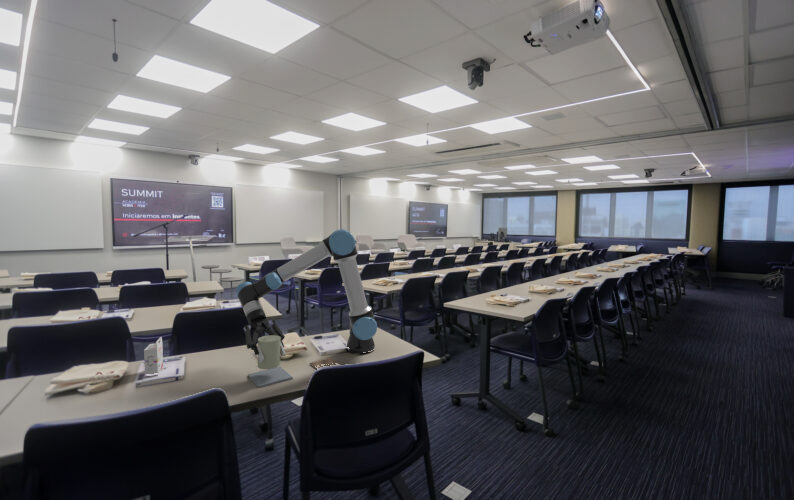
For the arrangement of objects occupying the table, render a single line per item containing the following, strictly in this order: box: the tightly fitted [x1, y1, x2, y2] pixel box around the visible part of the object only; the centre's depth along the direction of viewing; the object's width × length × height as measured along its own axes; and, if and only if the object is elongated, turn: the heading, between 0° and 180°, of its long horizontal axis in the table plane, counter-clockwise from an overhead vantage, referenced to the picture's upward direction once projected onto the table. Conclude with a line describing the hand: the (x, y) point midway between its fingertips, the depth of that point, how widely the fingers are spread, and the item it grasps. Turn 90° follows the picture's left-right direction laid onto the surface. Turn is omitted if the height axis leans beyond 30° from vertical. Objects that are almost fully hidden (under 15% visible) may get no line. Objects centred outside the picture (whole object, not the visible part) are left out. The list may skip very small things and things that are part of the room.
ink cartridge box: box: [143, 336, 164, 375], centre depth 148 cm, size 9×5×15 cm, turn 22°
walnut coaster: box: [309, 357, 338, 370], centre depth 160 cm, size 11×11×1 cm
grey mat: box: [247, 366, 294, 389], centre depth 146 cm, size 14×14×1 cm
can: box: [257, 334, 282, 370], centre depth 145 cm, size 9×9×12 cm
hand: (273, 357), depth 143 cm, fingers closed on can, 9 cm apart
